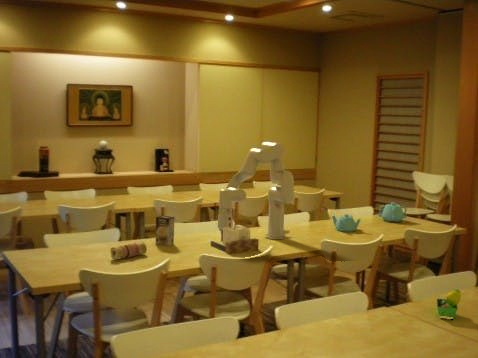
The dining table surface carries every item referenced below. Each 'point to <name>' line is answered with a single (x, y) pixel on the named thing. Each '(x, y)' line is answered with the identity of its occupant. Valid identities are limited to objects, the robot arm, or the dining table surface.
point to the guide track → (238, 245)
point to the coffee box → (164, 230)
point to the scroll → (128, 250)
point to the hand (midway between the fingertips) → (224, 241)
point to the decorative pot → (392, 212)
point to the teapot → (345, 223)
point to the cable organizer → (235, 233)
